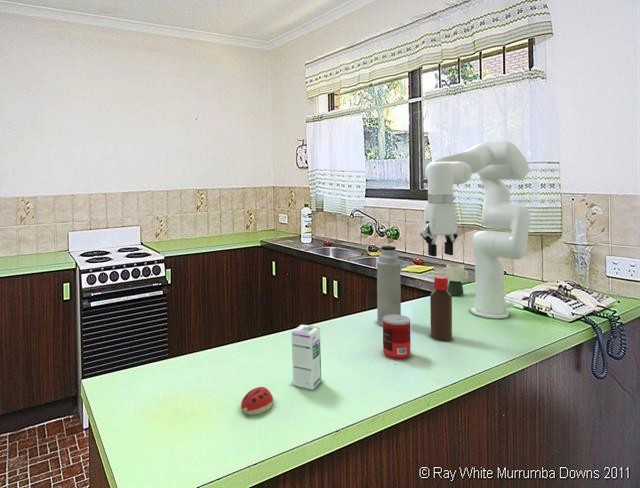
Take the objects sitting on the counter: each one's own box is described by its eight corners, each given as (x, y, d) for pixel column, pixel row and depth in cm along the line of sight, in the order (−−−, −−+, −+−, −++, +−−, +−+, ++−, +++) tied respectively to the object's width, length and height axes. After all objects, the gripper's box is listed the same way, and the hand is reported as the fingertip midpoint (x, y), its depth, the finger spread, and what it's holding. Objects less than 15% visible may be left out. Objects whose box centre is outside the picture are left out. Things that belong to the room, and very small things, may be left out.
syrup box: (313, 390, 111) (312, 334, 111) (292, 385, 114) (291, 329, 114) (321, 381, 116) (320, 327, 116) (301, 376, 119) (300, 323, 119)
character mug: (472, 295, 191) (471, 266, 191) (464, 299, 187) (463, 268, 187) (447, 291, 200) (447, 262, 200) (439, 293, 196) (439, 264, 195)
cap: (441, 286, 147) (441, 275, 147) (450, 289, 143) (450, 278, 143) (431, 287, 146) (431, 276, 146) (440, 290, 142) (440, 279, 142)
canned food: (414, 353, 132) (414, 317, 132) (403, 362, 127) (403, 324, 126) (390, 347, 138) (389, 312, 137) (378, 355, 132) (378, 319, 131)
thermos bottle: (375, 319, 163) (374, 244, 162) (397, 320, 163) (396, 244, 162) (380, 327, 155) (379, 248, 154) (403, 327, 155) (402, 248, 154)
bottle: (442, 333, 149) (442, 275, 148) (456, 339, 143) (456, 280, 142) (426, 335, 147) (426, 277, 146) (440, 342, 141) (439, 281, 140)
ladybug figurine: (279, 401, 106) (279, 387, 106) (258, 421, 98) (258, 405, 98) (255, 394, 110) (255, 380, 110) (233, 412, 102) (233, 397, 102)
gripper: (453, 198, 149) (453, 251, 150) (410, 200, 145) (410, 255, 145) (470, 199, 142) (471, 255, 143) (426, 201, 137) (426, 259, 138)
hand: (440, 254), depth 144 cm, fingers open, 5 cm apart
